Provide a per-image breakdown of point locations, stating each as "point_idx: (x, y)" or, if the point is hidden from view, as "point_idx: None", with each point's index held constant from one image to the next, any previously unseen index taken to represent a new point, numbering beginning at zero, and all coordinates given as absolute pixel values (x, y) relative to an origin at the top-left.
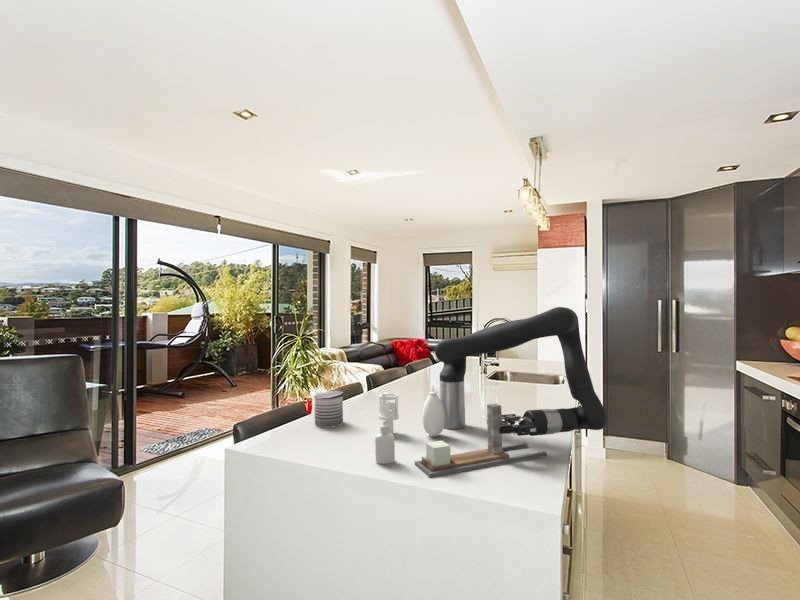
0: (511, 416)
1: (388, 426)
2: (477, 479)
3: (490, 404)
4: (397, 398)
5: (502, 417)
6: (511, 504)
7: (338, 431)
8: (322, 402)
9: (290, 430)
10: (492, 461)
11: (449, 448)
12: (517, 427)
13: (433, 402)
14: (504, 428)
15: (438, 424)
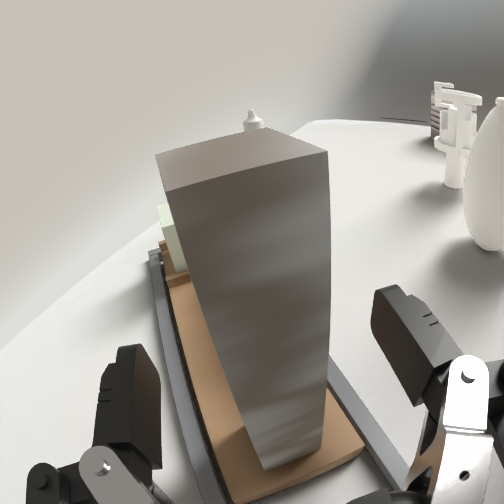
0: (455, 499)
1: (250, 123)
2: (95, 345)
3: (272, 135)
4: (463, 103)
5: (456, 399)
6: None
7: (422, 147)
8: (432, 98)
9: (400, 127)
10: (185, 411)
11: (164, 235)
12: (46, 465)
13: (487, 128)
14: (102, 377)
15: (477, 210)
